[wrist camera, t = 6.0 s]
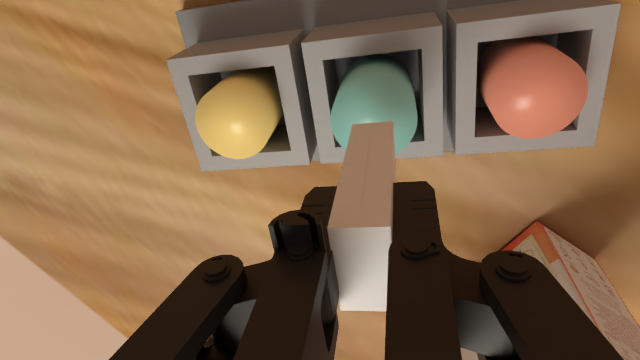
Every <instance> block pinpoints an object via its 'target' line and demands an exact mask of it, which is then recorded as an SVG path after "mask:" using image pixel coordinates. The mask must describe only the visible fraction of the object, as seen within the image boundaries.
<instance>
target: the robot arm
mask: <svg viewBox="0 0 640 360" xmlns="http://www.w3.org/2000/svg"><path fill="white" fill-rule="evenodd" d="M268 227H269V231H270V235H271V239H272V243H273V248H274V252H275V253H274V255H273V258H272V259H270V260H268V261H265V262H262V263H258V264H254V265H250V266H246V267H244V266H243V262H242V261H241V260H240V259H239V258H238V257H235V256H233V255H219V256H215V257H212V258H210V259H207V260H205V261H203V262H202V263H201V264H199V265H198V266H197V267H196V268H195V269H194V270H193V271H192V272H191V273H190V274H189V275H188V276H187V277H186V278H185V279H184V280H183V281H182V283H181V284H180V285H179V286H178V287H177V288H176V289H175V290H174V291H173V292H172V293H171V294H170V295H169V296H168V297H167V298H166V299H165V301H164V302H163V303H162V304H161V305H160V306H159V307H158V308H157V309H156V310H155V311H154V312H153V313H152V314H151V315H150V316H149V318H148V319H147V320H146V321H145V322H144V323H143V324H142V325H141V326H140V327H139V328H138V329H137V330H136V331H135V332H134V333H133V335H132V336H131V337H130V338H129V339H128V340H127V341H126V342H125V343H124V344H123V345H122V346H121V347H120V349H118V350H117V352H116V353H115V354H114V355H113V356H112V357H111V358H110V359H109V360H334V354H335V347H336V341H337V334H338V327H339V325H338V317H337V305H338V299H339V303H340V309H341V310H346V311H386V337H385V360H462V355H461V348H464V349H467V350H470V351H473V352H476V353H477V356H478V359H479V360H624V359H623V358H622V357H621V355H620V354H619V353H618V352H617V351H616V349H615V348H614V347H613V346H612V345H611V344H610V342H609V341H608V340H607V339H606V338H605V336H604V335H603V334H602V333H601V332H600V331H599V329H598V328H597V327H596V326H595V325H594V323H593V322H592V321H591V320H590V319H589V318H588V316H587V315H586V314H585V313H584V312H583V310H582V309H581V308H580V307H579V306H578V304H577V303H576V302H575V301H574V300H573V299H572V297H571V296H570V295H569V294H568V293H567V291H566V290H565V289H564V288H563V287H562V286H561V284H560V283H559V282H558V281H557V280H556V278H555V277H554V276H553V275H552V274H551V273H550V271H549V270H548V269H547V268H546V267H545V265H544V264H542V263H541V262H540V261H539V260H538V259H536V258H535V257H532V256H530V255H528V254H526V253H523V252H517V251H512V250H507V251H497V252H494V253H491V254H489V255H487V256H486V257H485V258H484V259H482V262H481V263H480V262H475V261H470V260H467V259H463V258H460V257H458V256H456V255H454V254H452V253H451V252H450V251H448V250H447V249H446V247H445V246H444V245H443V242H442V239H441V232H440V225H439V218H438V211H437V204H436V198H435V191H434V189H433V188H432V187H431V186H430V185H429V184H428V183H427V182H426V181H419V182H397V175H396V159H395V143H394V128H393V121H388V122H375V123H362V124H352V128H351V132H350V136H349V140H348V144H347V149H346V153H345V157H344V161H343V165H342V169H341V173H340V177H339V182H338V186H332V187H314V188H313V189H312V190H311V191H310V192H309V193H308V194H307V195H306V196H305V198H304V201H303V203H302V207H301V209H300V210H295V211H289V212H286V213H283V214H281V215H279V216H277V217H276V218H274V219H273V220H272V221H271V223H270V224H269V225H268ZM210 336H211V337H210ZM209 337H210V338H209ZM207 340H208V341H207ZM206 341H207V342H206Z"/></svg>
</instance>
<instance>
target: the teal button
mask: <svg viewBox="0 0 640 360" xmlns="http://www.w3.org/2000/svg"><path fill="white" fill-rule="evenodd" d="M417 118H418V117H417V109H416V102H415V95H414V88H413V82H412V78H411V75H410V73H409V71H408V70H407V68H406V67H405V66H404V65H403V64H402V63H401V62H400V61H399V60H397V59H396V58H394V57H391V56H389V55H385V54H372V55H366V56H363V57H361V58H359V59H358V60H356V61H355V62H353V63H352V64H351V65H350V66H349V67H348V69H347V70H346V72H345V74H344V76H343V78H342V81H341V84H340V87H339V90H338V93H337V95H336V98H335V101H334V104H333V107H332V110H331V117H330V121H331V128H332V132H333V134H334V136H335V138H336V140H337V141H338V143H339V144H340V145H341V146H342V147H343V148H344V149H345V150H346V149H347V144H348V140H349V136H350V132H351V128H352V124H362V123H375V122H388V121H393V128H394V143H395V154H397V153H398V152H400V151H401V150H403V149H404V148H405V147H406V146H407V145H408V144H409V142H410V141H411V139H412V138H413V136H414V134H415V131H416V128H417Z"/></svg>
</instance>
